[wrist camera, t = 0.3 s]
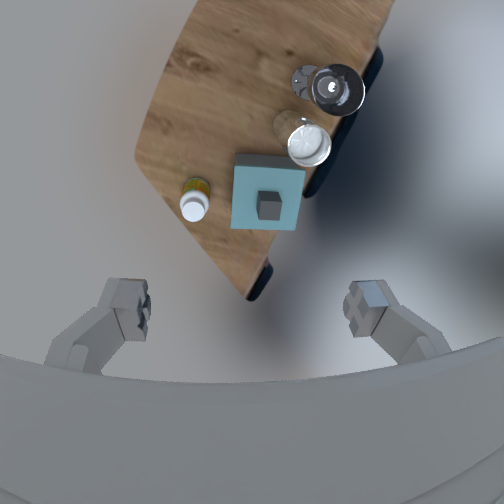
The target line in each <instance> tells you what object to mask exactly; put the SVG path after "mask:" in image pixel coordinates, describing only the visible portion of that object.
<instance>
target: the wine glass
mask: <svg viewBox="0 0 504 504" xmlns="http://www.w3.org/2000/svg"><path fill="white" fill-rule="evenodd" d="M291 85H292V89H293V91H294V92H295V94H296V95H298V96H299V97H300V98H302V99H305V100H311V101H312V102H313V103H314V104H315V105H316V107H318V108H319V109H321V110H322V111H324V112H326V113H328V114H330V115H333V116H347V115H350V114H352V113H353V112H355V111H356V110H357V109H358V108H359V107H360V106H361V104H362V102H363V99H364V95H365V88H364V83H363V81H362V79H361V77H360V75H359V74H358V73H357V72H356V71H355V70H354V69H352V68H351V67H349V66H346V65H343V64H325V65H322V66H320V67H317V66H314V65H304V66H301V67H299V68H298V69H297V70H296V71H295V72H294V73H293V75H292V79H291Z"/></svg>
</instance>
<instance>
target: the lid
mask: <svg viewBox="0 0 504 504" xmlns="http://www.w3.org/2000/svg"><path fill="white" fill-rule="evenodd" d="M305 173H306V170H305V169H301V168H289V167H277V166H262V165H244V164H235V166H234V179H233V194H232V209H231V224H230V227H231V228H235V229H269V230H295V226H296V221H297V216H298V211H299V206H300V200H301V195H302V190H303V184H304V179H305Z"/></svg>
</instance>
